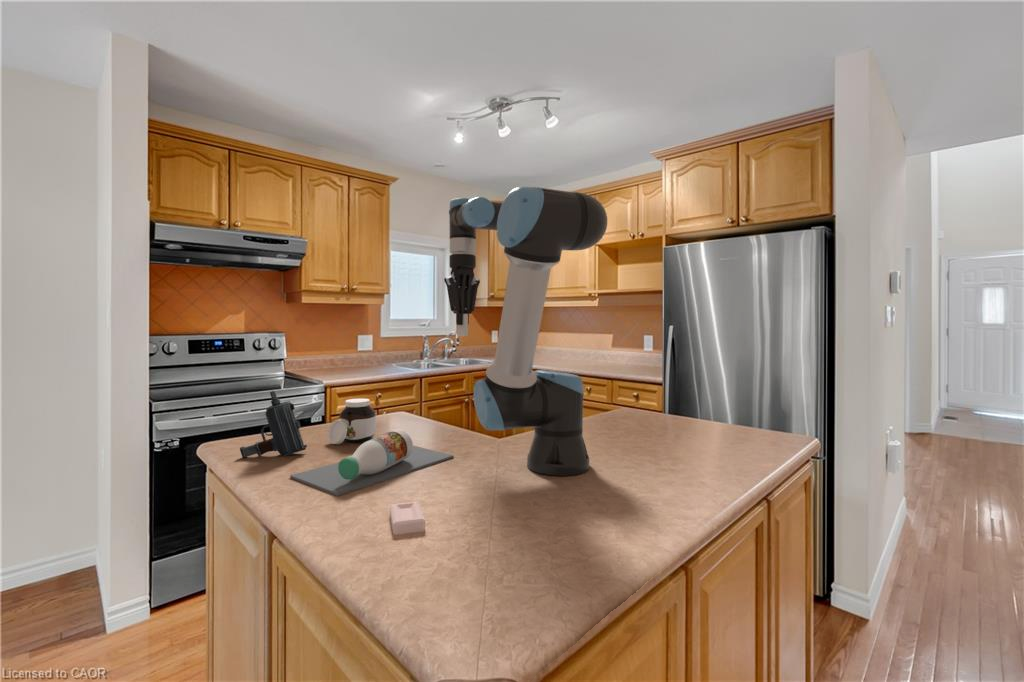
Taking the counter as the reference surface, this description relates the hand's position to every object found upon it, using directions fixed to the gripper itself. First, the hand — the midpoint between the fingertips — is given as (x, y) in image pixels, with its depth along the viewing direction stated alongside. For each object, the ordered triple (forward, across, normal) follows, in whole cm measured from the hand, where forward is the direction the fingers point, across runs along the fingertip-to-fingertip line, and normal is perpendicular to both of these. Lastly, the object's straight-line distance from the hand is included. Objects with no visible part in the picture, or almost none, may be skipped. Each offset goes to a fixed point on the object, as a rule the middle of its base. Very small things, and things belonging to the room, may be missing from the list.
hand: (462, 336), depth 145 cm
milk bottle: (+26, +25, +3) cm, 36 cm away
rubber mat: (+30, +32, +2) cm, 44 cm away
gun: (+31, +42, -27) cm, 59 cm away
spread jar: (+31, +21, -24) cm, 44 cm away
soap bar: (+31, +49, +31) cm, 66 cm away
